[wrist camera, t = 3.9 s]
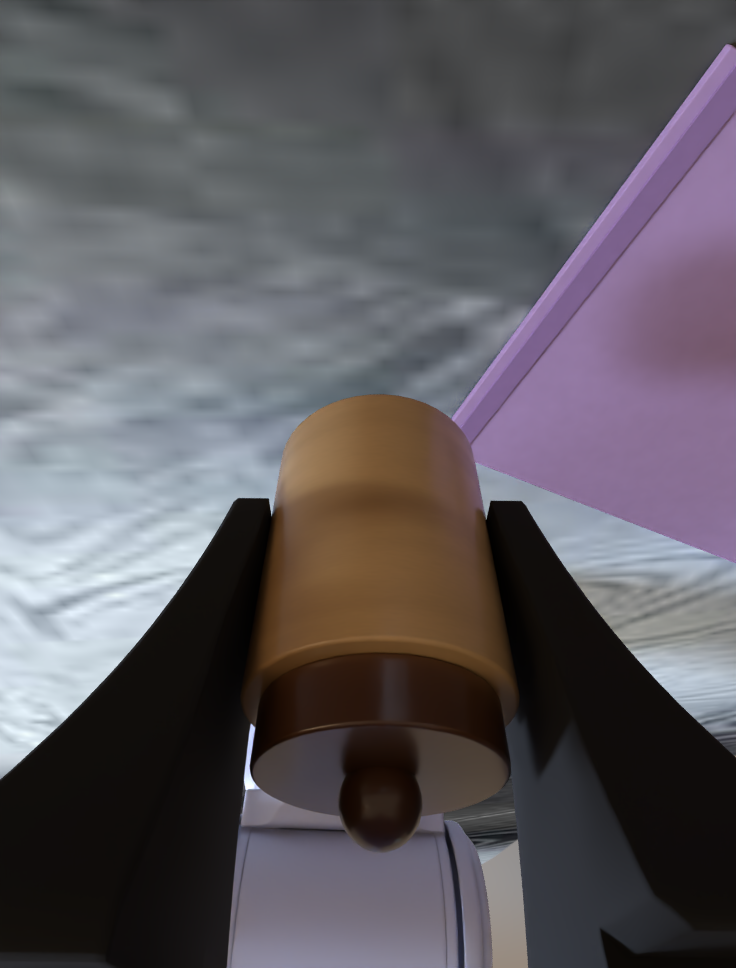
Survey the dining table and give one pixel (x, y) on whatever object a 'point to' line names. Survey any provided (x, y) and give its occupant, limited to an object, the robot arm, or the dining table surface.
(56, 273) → the dining table surface
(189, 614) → the robot arm
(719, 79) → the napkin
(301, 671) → the salt mill
